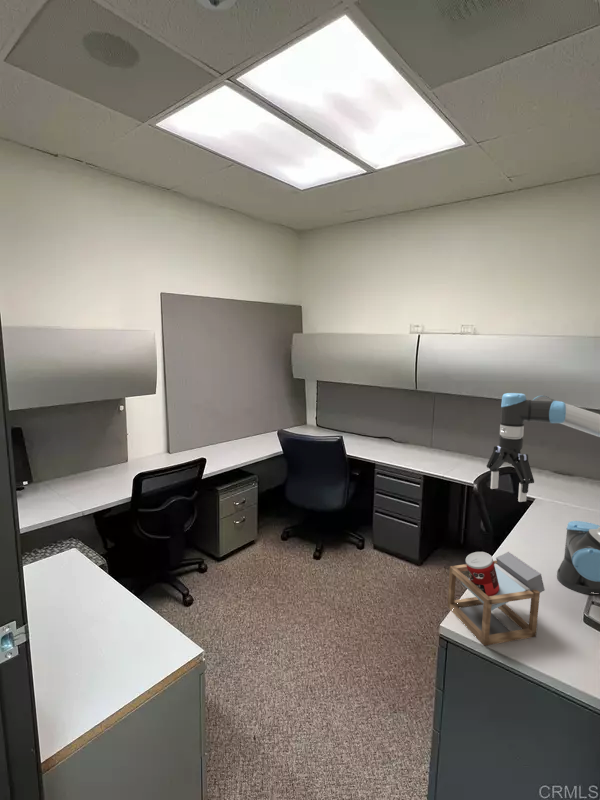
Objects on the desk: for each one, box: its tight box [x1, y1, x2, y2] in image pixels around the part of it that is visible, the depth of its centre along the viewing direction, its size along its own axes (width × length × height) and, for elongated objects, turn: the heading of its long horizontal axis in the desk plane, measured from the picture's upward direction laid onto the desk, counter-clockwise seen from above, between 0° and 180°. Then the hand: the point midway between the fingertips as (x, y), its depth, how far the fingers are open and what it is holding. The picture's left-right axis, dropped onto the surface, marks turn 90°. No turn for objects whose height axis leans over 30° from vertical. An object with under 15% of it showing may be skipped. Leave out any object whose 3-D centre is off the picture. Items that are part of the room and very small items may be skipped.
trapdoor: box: [460, 551, 546, 612], centre depth 133 cm, size 19×15×6 cm
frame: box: [447, 560, 541, 646], centre depth 133 cm, size 18×19×14 cm
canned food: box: [465, 551, 499, 596], centre depth 131 cm, size 8×8×11 cm
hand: (507, 494), depth 151 cm, fingers open, 13 cm apart
